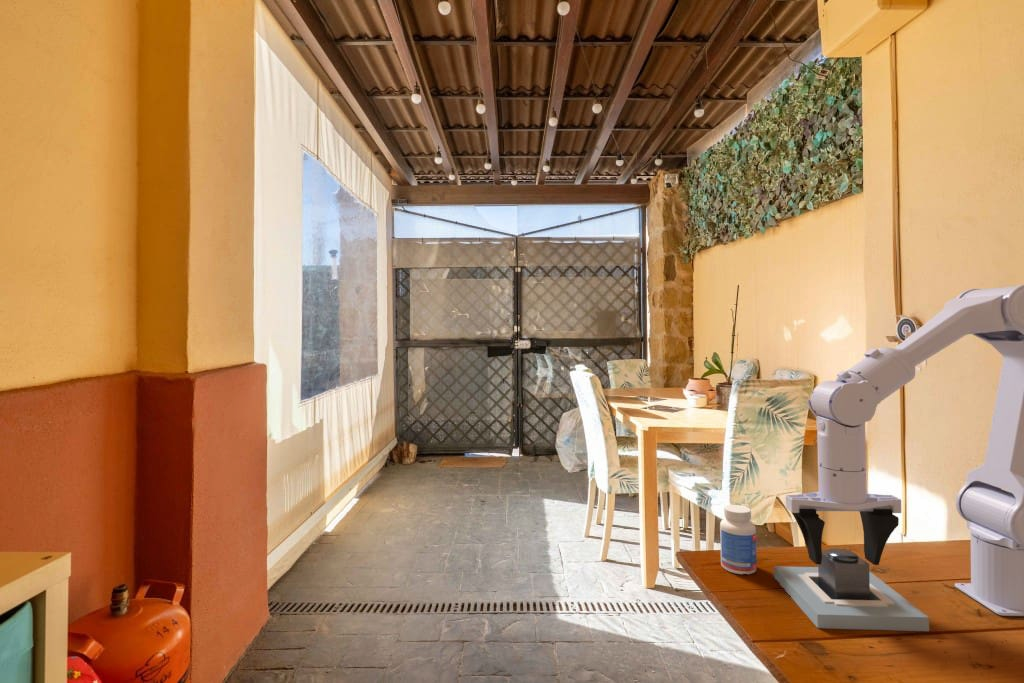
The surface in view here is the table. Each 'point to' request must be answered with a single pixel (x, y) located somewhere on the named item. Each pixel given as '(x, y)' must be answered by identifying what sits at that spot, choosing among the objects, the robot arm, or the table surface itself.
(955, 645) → the table surface
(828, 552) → the lens block
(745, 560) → the pill bottle
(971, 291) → the robot arm
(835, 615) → the mount plate
